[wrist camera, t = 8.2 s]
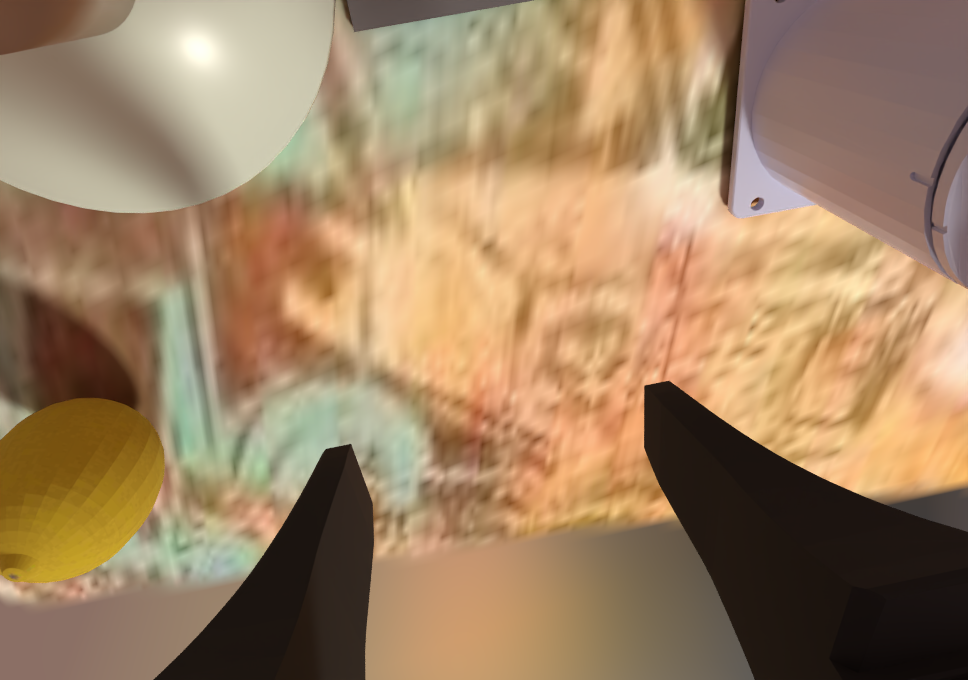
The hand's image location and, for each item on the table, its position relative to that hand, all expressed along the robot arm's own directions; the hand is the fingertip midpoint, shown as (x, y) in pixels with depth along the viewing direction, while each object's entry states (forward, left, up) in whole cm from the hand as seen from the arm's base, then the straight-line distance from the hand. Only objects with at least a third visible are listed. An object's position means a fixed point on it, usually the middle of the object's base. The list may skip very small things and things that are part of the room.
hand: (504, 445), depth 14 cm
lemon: (+16, +4, -11) cm, 19 cm away
